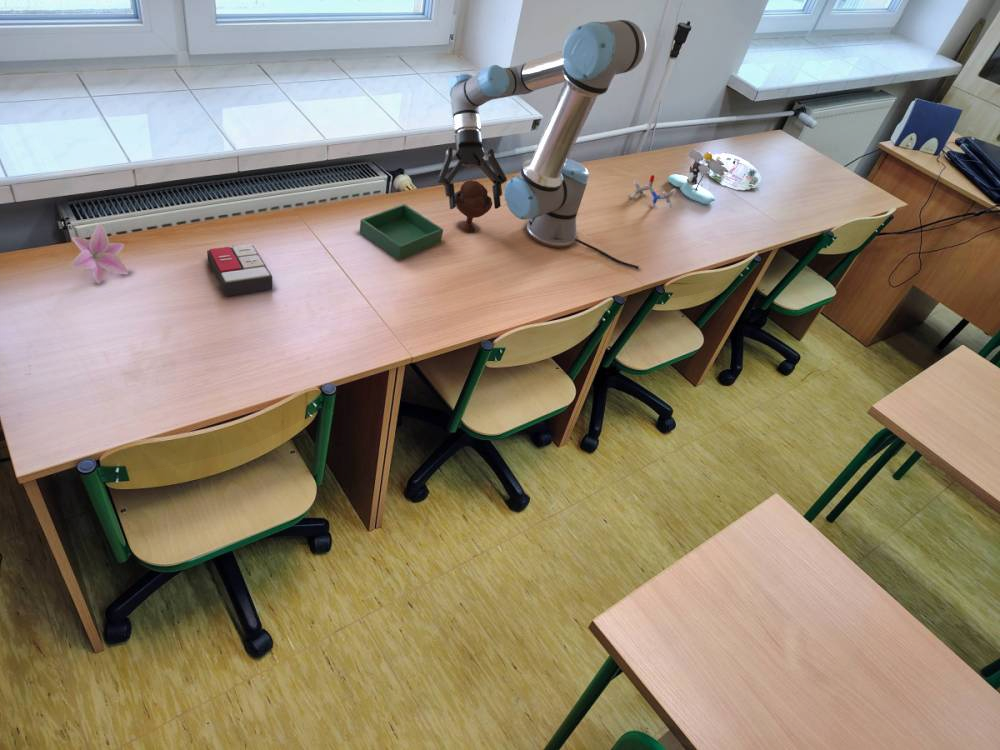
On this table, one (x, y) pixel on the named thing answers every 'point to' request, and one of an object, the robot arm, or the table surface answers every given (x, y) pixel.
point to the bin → (401, 231)
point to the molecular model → (653, 192)
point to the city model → (736, 172)
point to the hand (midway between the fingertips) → (475, 207)
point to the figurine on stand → (690, 183)
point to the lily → (98, 254)
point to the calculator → (239, 269)
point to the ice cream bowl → (472, 203)
